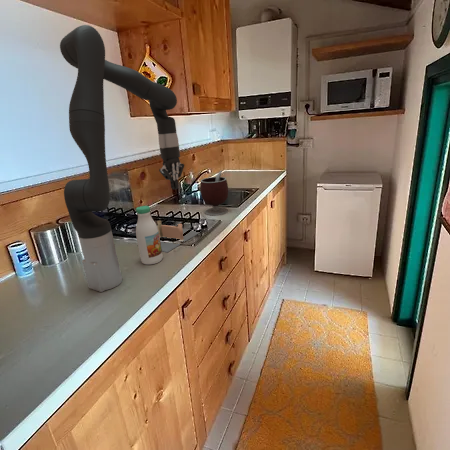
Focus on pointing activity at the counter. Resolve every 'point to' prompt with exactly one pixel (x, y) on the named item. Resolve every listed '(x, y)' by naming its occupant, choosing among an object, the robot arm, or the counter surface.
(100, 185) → the robot arm
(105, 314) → the counter surface
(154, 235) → the milk bottle
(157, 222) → the fence fixed
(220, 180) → the mate gourd
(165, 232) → the fence gate
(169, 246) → the card
